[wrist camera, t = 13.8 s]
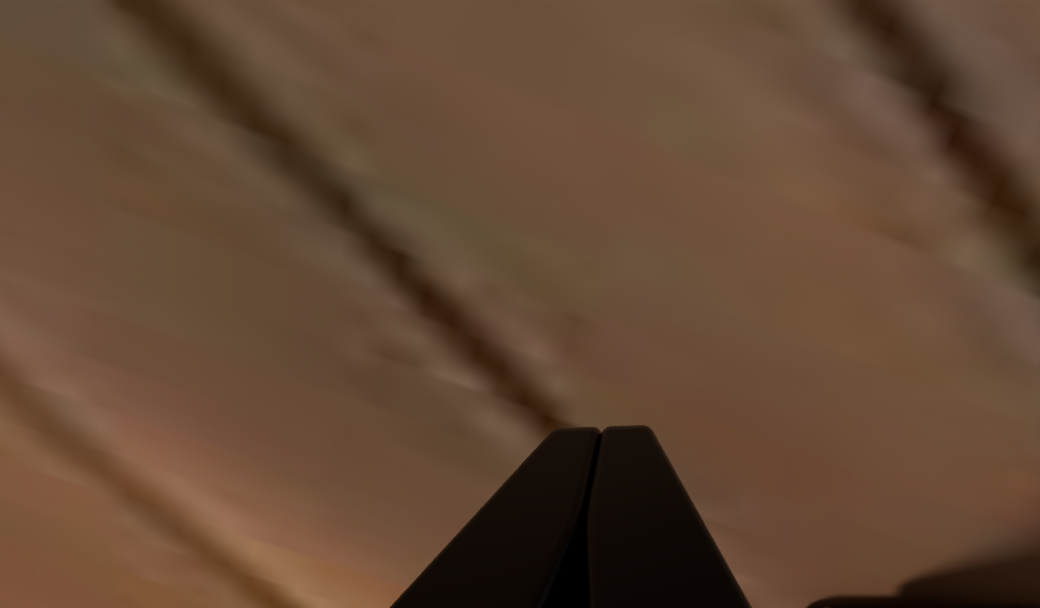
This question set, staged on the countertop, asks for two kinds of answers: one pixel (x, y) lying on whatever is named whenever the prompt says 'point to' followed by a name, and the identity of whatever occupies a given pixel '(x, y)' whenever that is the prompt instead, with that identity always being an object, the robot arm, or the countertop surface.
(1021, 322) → the countertop surface
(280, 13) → the countertop surface
